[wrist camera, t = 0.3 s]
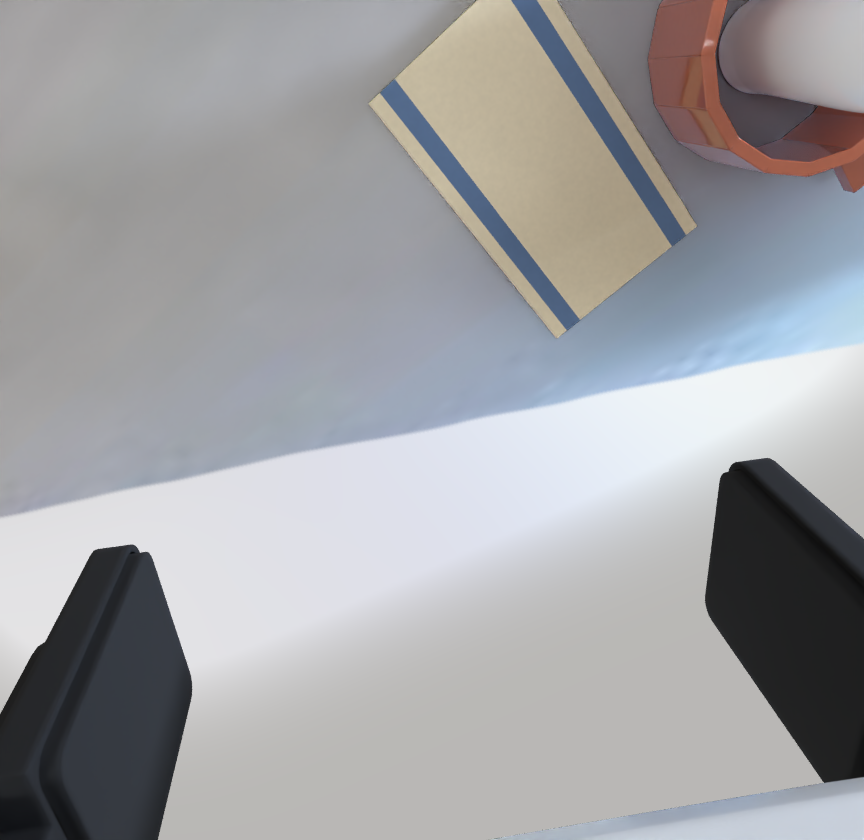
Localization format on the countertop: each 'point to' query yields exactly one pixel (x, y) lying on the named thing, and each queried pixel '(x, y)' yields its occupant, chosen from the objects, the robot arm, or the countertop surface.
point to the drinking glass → (797, 51)
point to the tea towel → (535, 155)
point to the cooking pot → (708, 122)
